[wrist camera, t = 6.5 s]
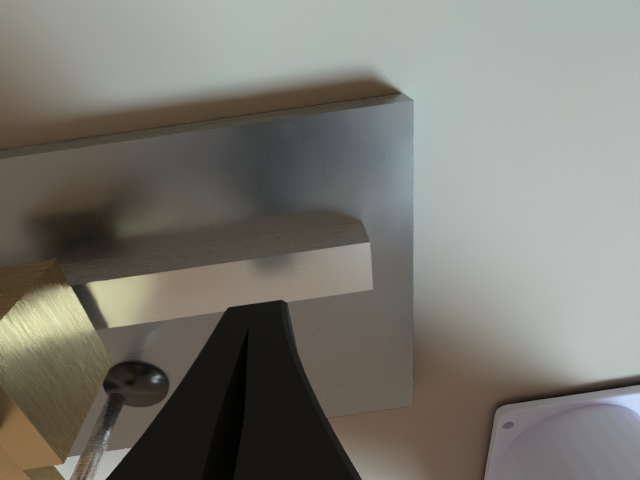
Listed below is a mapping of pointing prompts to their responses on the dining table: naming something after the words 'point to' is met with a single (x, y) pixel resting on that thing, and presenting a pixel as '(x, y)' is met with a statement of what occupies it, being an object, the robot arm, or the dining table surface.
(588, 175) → the dining table surface
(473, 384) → the dining table surface
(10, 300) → the sliding leg
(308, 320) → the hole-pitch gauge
